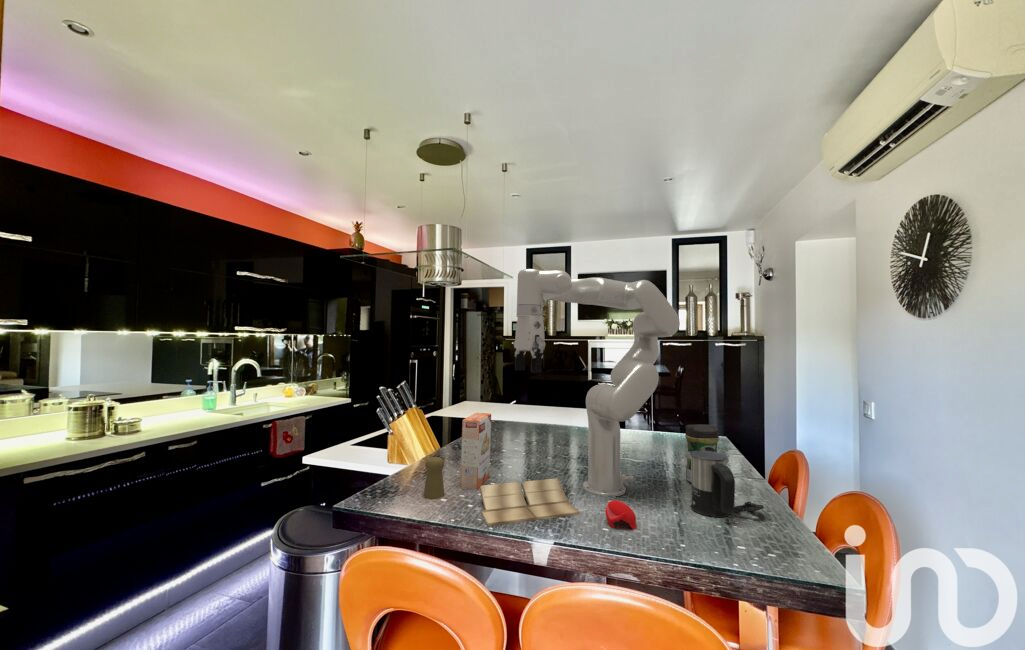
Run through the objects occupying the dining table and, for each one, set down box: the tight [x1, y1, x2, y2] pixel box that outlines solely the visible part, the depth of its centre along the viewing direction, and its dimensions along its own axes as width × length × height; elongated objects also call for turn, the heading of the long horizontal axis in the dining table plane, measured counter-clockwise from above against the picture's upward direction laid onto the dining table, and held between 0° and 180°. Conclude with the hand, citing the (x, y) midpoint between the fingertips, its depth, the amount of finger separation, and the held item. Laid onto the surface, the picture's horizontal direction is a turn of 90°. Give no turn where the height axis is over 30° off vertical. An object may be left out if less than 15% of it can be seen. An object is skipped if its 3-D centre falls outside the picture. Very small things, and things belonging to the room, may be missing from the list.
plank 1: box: [479, 481, 528, 511], centre depth 108 cm, size 11×8×1 cm
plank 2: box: [520, 477, 569, 506], centre depth 112 cm, size 11×8×1 cm
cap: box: [604, 499, 638, 531], centre depth 97 cm, size 8×6×6 cm
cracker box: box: [459, 412, 492, 491], centre depth 126 cm, size 14×6×21 cm, turn 168°
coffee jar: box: [684, 423, 720, 484], centre depth 129 cm, size 10×8×19 cm
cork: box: [423, 456, 445, 500], centre depth 114 cm, size 6×6×11 cm
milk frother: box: [690, 451, 764, 518], centre depth 107 cm, size 14×16×15 cm
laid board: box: [480, 500, 580, 527], centre depth 102 cm, size 24×7×1 cm, turn 108°
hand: (527, 371), depth 115 cm, fingers open, 9 cm apart
